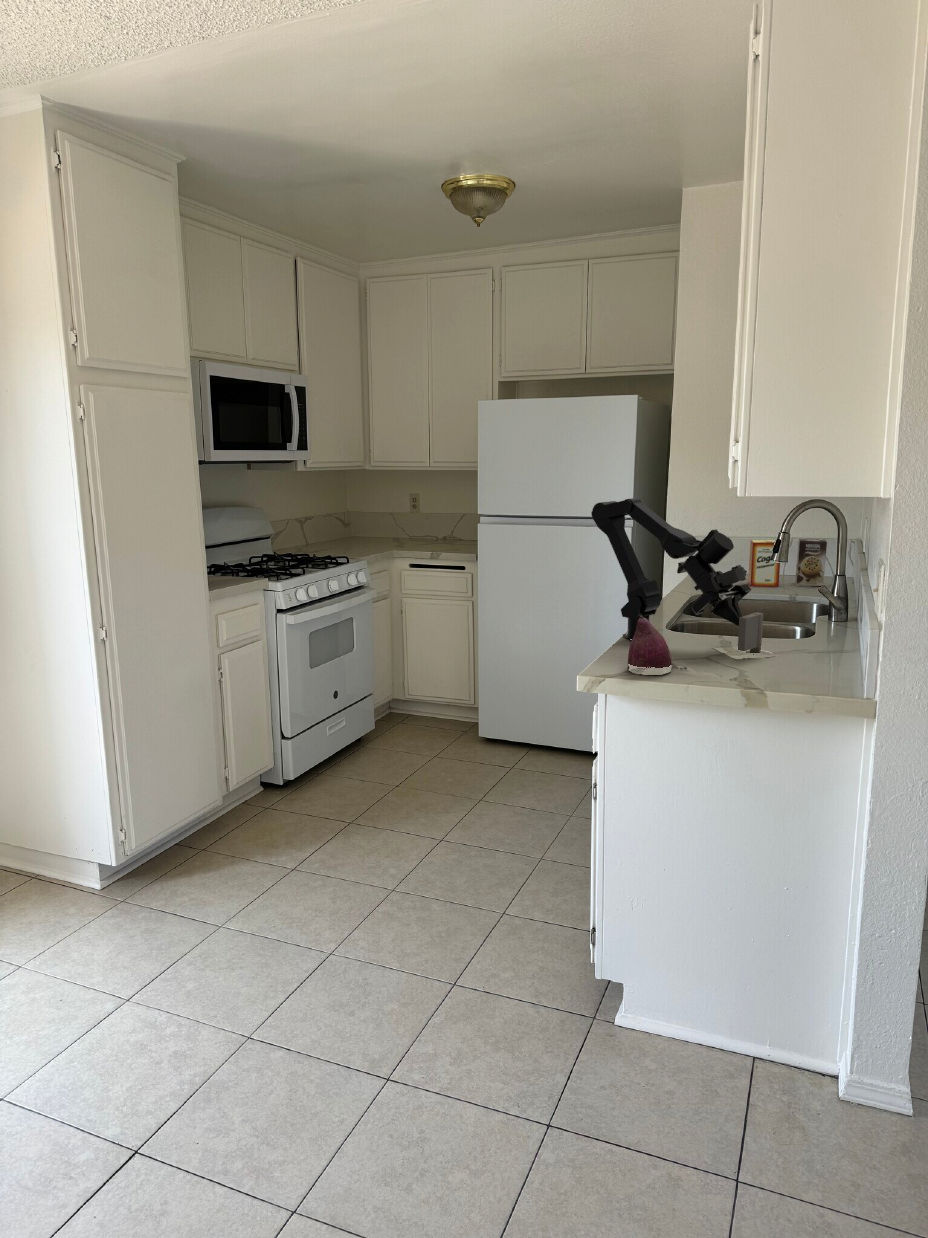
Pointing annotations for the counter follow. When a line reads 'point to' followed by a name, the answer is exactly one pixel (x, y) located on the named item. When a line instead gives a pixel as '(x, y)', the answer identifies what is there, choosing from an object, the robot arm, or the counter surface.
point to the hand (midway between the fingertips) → (742, 625)
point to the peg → (751, 633)
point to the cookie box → (810, 562)
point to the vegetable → (648, 647)
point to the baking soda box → (763, 565)
